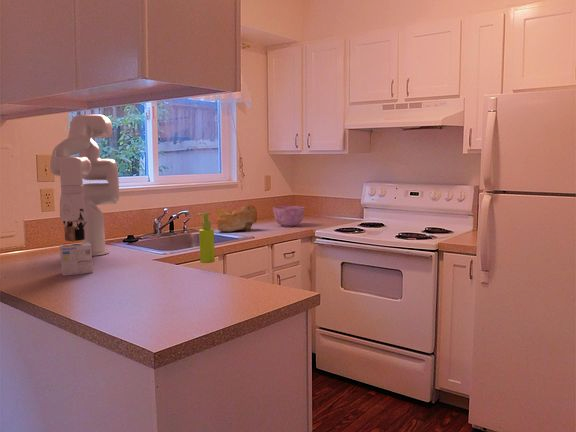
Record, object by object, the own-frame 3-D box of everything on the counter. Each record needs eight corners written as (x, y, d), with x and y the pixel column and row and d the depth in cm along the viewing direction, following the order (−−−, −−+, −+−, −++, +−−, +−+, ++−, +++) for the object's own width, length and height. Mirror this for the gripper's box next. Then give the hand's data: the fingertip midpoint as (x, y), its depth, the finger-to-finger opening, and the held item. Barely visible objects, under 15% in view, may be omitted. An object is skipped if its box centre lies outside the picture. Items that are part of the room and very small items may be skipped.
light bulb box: (90, 269, 199) (89, 241, 198) (93, 272, 193) (92, 244, 192) (60, 273, 194) (58, 244, 193) (62, 276, 188) (60, 247, 187)
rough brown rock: (254, 229, 312) (253, 204, 312) (258, 230, 296) (257, 204, 296) (216, 232, 308) (214, 207, 307) (218, 233, 292) (216, 207, 291)
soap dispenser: (196, 261, 212) (195, 212, 210) (213, 259, 215) (211, 211, 212) (198, 263, 207) (197, 214, 205) (215, 262, 209) (214, 213, 207)
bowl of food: (266, 226, 316) (265, 208, 315) (285, 223, 333) (285, 205, 331) (293, 229, 305) (292, 209, 304) (311, 225, 321) (311, 206, 320)
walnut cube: (65, 240, 192) (64, 227, 191) (77, 238, 196) (76, 225, 195) (73, 241, 189) (72, 228, 188) (85, 239, 193) (84, 226, 192)
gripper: (49, 190, 192) (52, 238, 194) (76, 191, 182) (79, 242, 184) (67, 189, 198) (70, 236, 200) (95, 190, 189) (98, 239, 191)
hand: (75, 238), depth 192 cm, fingers closed on walnut cube, 5 cm apart
